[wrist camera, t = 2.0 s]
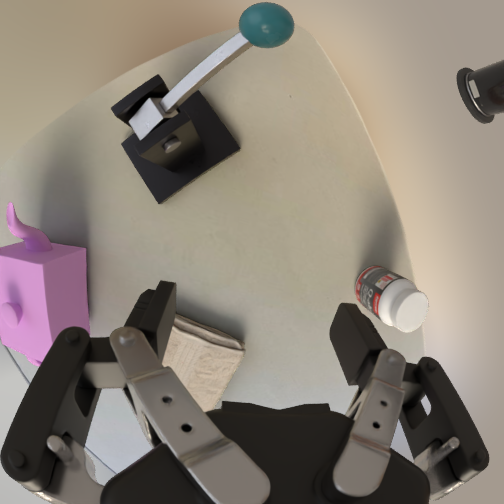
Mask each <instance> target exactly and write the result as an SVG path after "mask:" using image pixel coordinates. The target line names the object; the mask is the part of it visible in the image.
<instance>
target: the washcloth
mask: <svg viewBox="0 0 504 504" xmlns="http://www.w3.org/2000/svg"><path fill="white" fill-rule="evenodd" d="M244 345H245V343H244V342H243V341H239V340H236V339H234V338H232V337H231V336H230V335H227V334H226V333H223V332H221V331H219V330H216V329H214V328H211V327H208V326H205V325H202V324H199V323H197V322H195V321H193V320H190V319H188V318H185V317H183V316H181V315H178V314H175V320H174V324H173V327H172V331H171V334H170V337H169V341H168V344H167V348H166V351H165V355H164V358H163V362H162V365H163V366H164V367H167V366H169V367H171V368H172V369H173V371H174V372H175V373H176V375H177V376H178V378H179V379H180V381H181V382H182V383H183V385H184V386H185V387H186V389H187V390H188V392H189V393H190V394H191V396H192V397H193V398H194V400H195V401H196V402H197V403H198V405H199V406H200V407H201V409H202V410H203V411H204V412H206V411H210V410H213V409H214V407H215V406H216V403H217V402H218V401H219V400H220V397H221V395H222V393H223V392H224V389H226V387H227V385H228V382H229V381H230V380H231V378H232V376H233V373H234V372H235V371H236V369H237V367H239V364H240V363H241V360H242V359H243V357H244V354H245V349H244Z"/></svg>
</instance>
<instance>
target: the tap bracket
mask: <svg viewBox="0 0 504 504" xmlns="http://www.w3.org/2000/svg"><path fill="white" fill-rule="evenodd" d="M169 92H170V91H169V90H168V88H167V86H166V84H165V82H164V81H163V79H162V78H161V77H160V75H159V74H157V75H156V76H154V77H153V78H151V79H150V80H148V81H147V82H145V83H144V84H142V85H141V86H139V87H138V88H137V89H135V90H134V91H132V92H131V93H130V94H128V95H127V96H126V97H124V98H123V99H122V100H120V101H119V102H118V103H116V104H115V105H114V106H113V107H111V110H112V111H113V113H114V115H115V116H116V117H117V118H119V119H120V120H121V121H123V122H124V123H126V124H127V125H128V126H130V127H131V125H130V123H129V121H130V119H131V118H132V117H133V116H134V115H135V113H136V112H137V111H138V110H139V109H140V108H141V106H142V105H143V104H144V103H145V102H146V101H147V100H148V99H149V98H164V97H165V96H166V95H167V94H168V93H169ZM176 111H177V112H178V114H177V115H175V116H174V117H172V118H171V119H169V120H168V121H166V122H165V123H164V124H162V125H161V126H159V127H158V128H156V129H155V130H154V131H152V132H151V133H149V134H148V135H147V136H145V137H144V138H143V139H141V140H140V139H139V138H138V136H137V135H136V133H134V134H133V135H132V136H130V137H129V138H128V139H126V140H125V141H124V142H123V143H121V145H122V146H123V148H124V150H125V151H126V153H127V155H128V156H129V158H130V160H131V161H132V163H133V165H134V166H135V168H136V169H137V171H138V173H139V174H140V176H141V177H142V179H143V180H144V182H145V184H146V185H147V187H148V188H149V190H150V191H151V193H152V195H153V196H154V198H155V199H156V201H157V202H158V204H162V203H164V202H165V201H166V200H168V199H169V198H171V197H172V196H173V195H175V194H176V193H177V192H179V191H180V190H182V189H183V188H184V187H186V186H187V185H189V184H190V183H192V182H193V181H195V180H196V179H197V178H199V177H200V176H202V175H203V174H205V173H206V172H208V171H209V170H211V169H212V168H214V167H215V166H217V165H218V164H220V163H221V162H223V161H225V160H226V159H228V158H229V157H231V156H232V155H234V154H236V153H237V152H239V151H240V147H239V146H238V144H237V143H236V141H235V140H234V138H233V137H232V135H231V134H230V133H229V131H228V130H227V128H226V127H225V126H224V124H223V123H222V121H221V120H220V119H219V117H218V116H217V114H216V113H215V112H214V110H213V109H212V107H211V106H210V105H209V103H208V102H207V101H206V99H205V98H204V97H203V95H202V94H201V93H200V91H199V90H198V91H196V92H194V93H193V94H192V95H191V96H190V97H189V98H187V99H186V100H185V101H184V102H183V103H182V104H181V105H180V106H179V107H178V108H177V109H176ZM131 128H132V127H131ZM132 129H133V128H132Z"/></svg>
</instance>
